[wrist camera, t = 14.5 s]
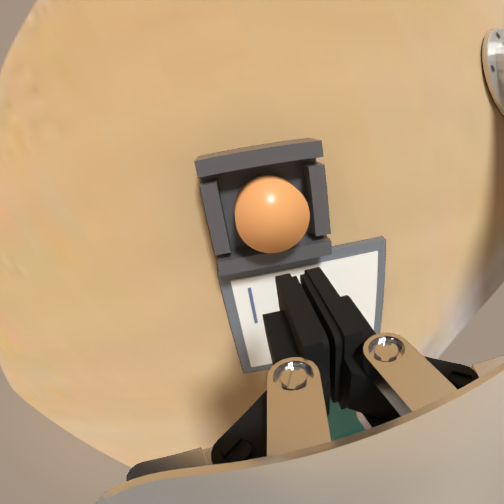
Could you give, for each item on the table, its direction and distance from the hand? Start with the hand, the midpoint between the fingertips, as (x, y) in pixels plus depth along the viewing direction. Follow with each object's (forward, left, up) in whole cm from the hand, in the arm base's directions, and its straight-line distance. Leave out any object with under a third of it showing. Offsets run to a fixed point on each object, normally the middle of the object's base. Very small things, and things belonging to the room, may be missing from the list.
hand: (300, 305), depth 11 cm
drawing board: (-4, +12, -15) cm, 20 cm away
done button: (-1, 0, -12) cm, 12 cm away
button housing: (-1, 0, -15) cm, 15 cm away
